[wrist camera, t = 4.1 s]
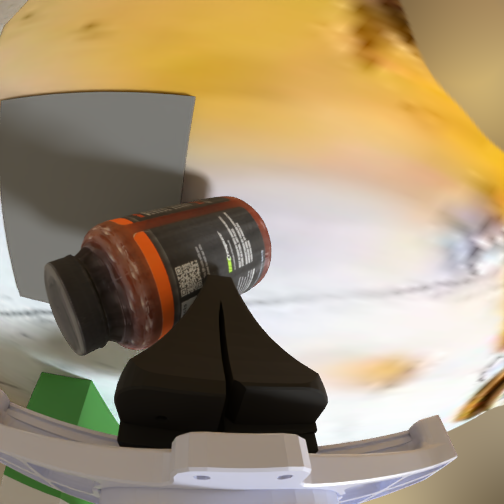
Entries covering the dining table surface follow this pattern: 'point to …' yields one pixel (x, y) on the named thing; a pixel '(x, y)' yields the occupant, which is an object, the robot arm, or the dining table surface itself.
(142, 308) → the supplement bottle
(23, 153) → the mat
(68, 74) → the dining table surface
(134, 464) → the robot arm
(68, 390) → the hardback book
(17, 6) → the incense holder
